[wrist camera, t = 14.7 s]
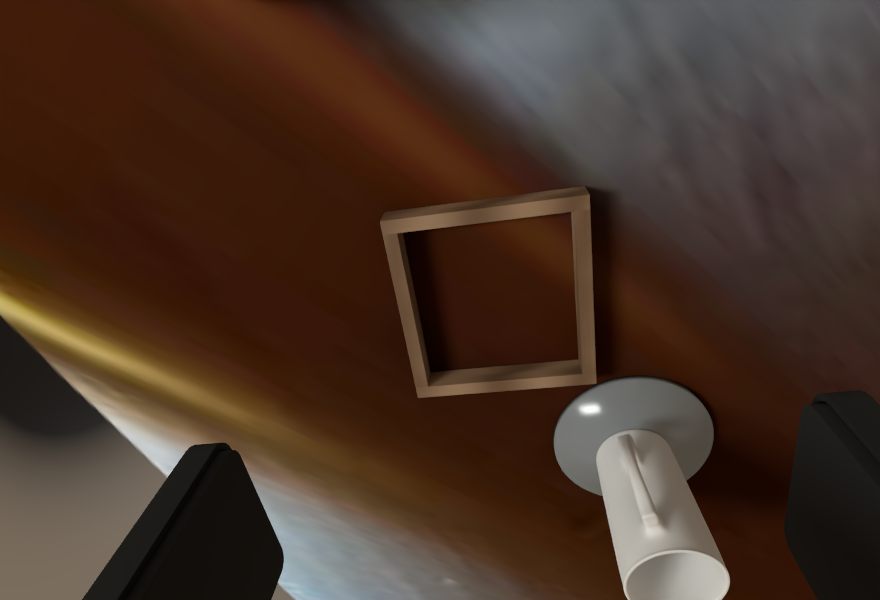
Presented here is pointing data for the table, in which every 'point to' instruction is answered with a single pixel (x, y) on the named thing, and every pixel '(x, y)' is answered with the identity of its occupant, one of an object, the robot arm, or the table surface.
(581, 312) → the corral
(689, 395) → the grey round disc
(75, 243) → the table surface
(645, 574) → the mug
